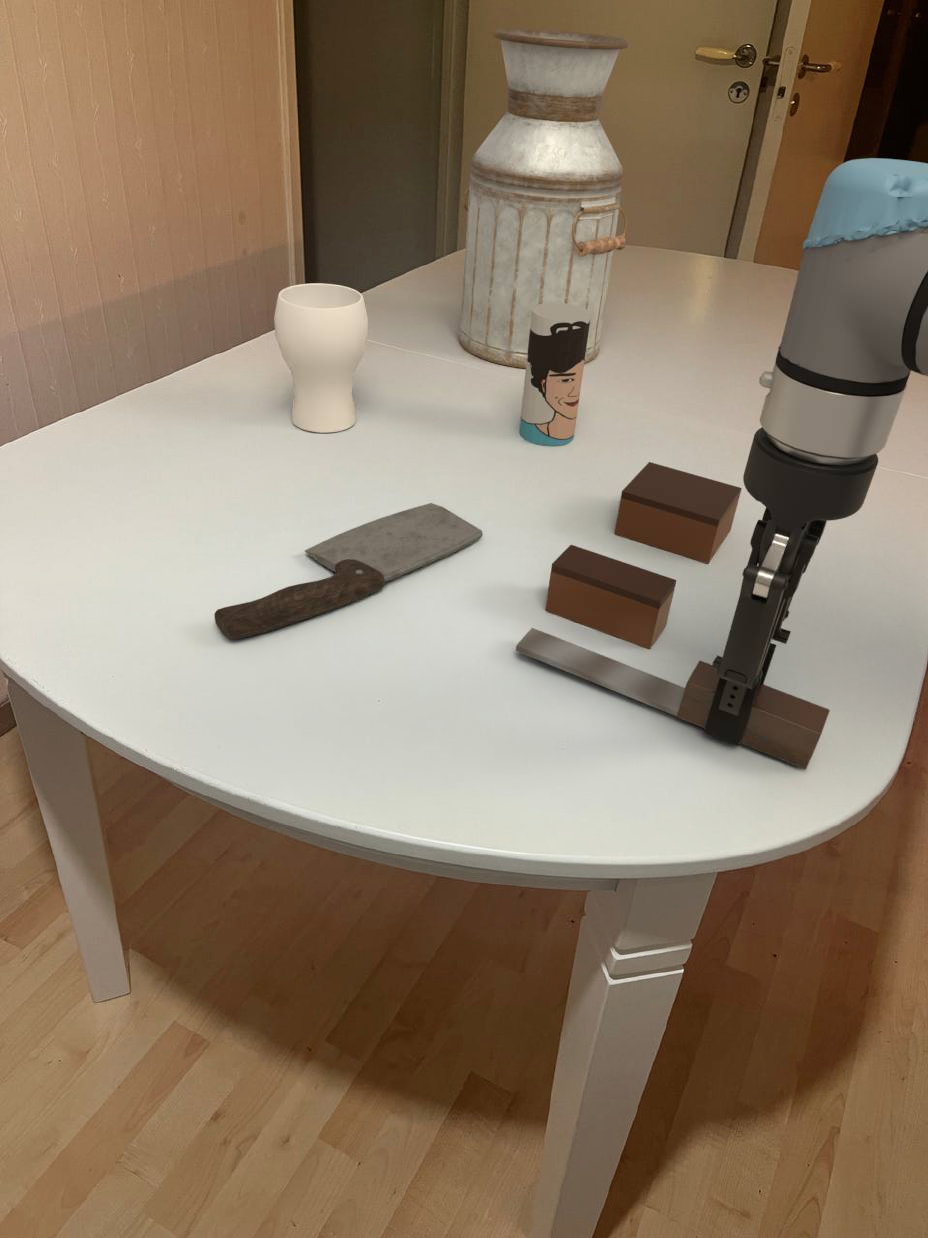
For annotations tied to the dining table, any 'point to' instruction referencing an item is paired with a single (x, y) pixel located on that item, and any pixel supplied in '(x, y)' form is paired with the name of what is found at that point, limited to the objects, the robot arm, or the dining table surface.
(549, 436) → the cup
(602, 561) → the cake slice
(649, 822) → the dining table surface
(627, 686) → the knife
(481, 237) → the milk can
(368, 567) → the cleaver
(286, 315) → the cup
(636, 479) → the cake
